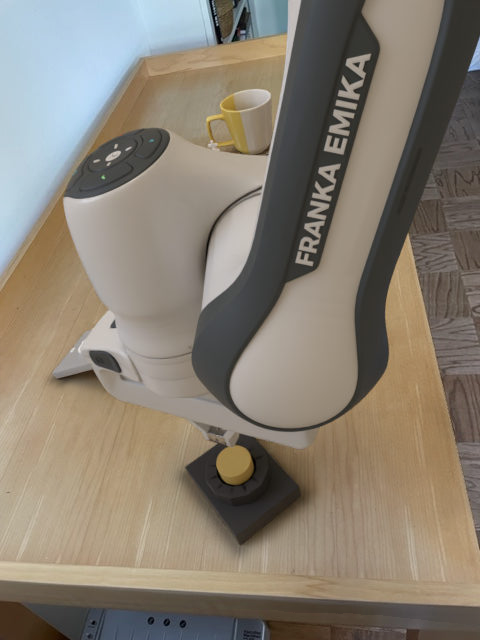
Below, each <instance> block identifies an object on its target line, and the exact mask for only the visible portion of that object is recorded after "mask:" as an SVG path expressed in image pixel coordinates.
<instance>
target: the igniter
mask: <svg viewBox="0 0 480 640" xmlns="http://www.w3.org/2000/svg"><path fill="white" fill-rule="evenodd" d="M235 445H238V446H242V447H244V448H246V449H247V450H248V451H249V453H250V455H251V458H252V461H253V464H254V471H253V474H252V476H251V477H250V478H249V480H247V481H246V482H245V483H243V484H240V485H230V484H228V483H226V482H225V481H224V480H223V479H222V478H221V476H220V473H219V471H218V469H217V466H216V461H217V457H218V455H219V454H220V452H221V451H222V450H224V449H225V448H227V447H229V446H226V445H222V444H219V443H215V445H214V446H212V447H211V448H209V449H208V450H206V451H205V452H204V453H203V454H200V456H198V457H197V458H195V459H194V460H193V461H191V462H190V463H188V464H187V465H185V467H184V469H185V471H186V472H187V475H188V477H189V478H190V480H191V481H192V482H193V484H194V485H195V486H196V488H197V489H198V491H199V492H200V493H201V495H202V496H203V498H205V500H206V501H207V503H208V504H209V506H210V507H211V508H212V510H213V511H214V512H215V514H216V515H217V517H219V519H220V521H221V522H222V523H223V525H224V526H225V528H226V529H227V530H228V531H229V533H230V534H231V535H232V537H233V538H234V540H235V541H236V542H237V544H238V545H239V546H242V544H244V543H246V541H248V540H249V539H250V538H251V537H253V536H254V535H255V534H256V533H258V532H259V531H260V530H261V529H263V528H264V527H265V526H266V525H268V524H269V523H270V522H272V521H273V520H274V519H275V518H277V516H279V515H280V514H281V513H283V512H284V511H285V510H286V509H288V508H289V507H290V506H292V504H293V503H295V502H296V501H297V500H299V499H300V498H301V497H302V494H301V489H300V485H298V483H297V482H296V480H294V479H293V478H292V477H291V476H290V475H289V473H288V472H287V471H286V470H285V469H284V468H283V467H282V466H281V465H280V464H279V462H278V461H276V460H275V458H274V457H273V456H272V455H271V454H270V453H269V452H268V451H267V449H265V447H264V446H263V445H262V444H261V443H260V441H258V439H257V438H255V437H251V436H248V435H244V434H240V433H239V437H238V440H237V442H236V444H235Z"/></svg>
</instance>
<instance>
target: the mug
mask: <svg viewBox="0 0 480 640" xmlns="http://www.w3.org/2000/svg"><path fill="white" fill-rule="evenodd" d="M272 103H273V102H272V93H271V92H270V91H268V90H266V89H263V88H251V89H244V90H240V91H237V92H234V93H232V94H230V95H228V96H227V97H225V98H224V99H222V101H220V104H219V108H220V111H221V113H219V114H213V115H209V116H207V117H206V120H205V124H206V131H207V134H208V138H209V141H211V140H213V142H214V143H217V144H218V146H215V148H225V147H235V149H236V150H237V151H239V152H240V153H241V154H245V155H259V154H261V153H263V152H266V150H267V149H268V148H269V147H270V145H271V140H272V135H273V117H272V116H273V114H272V113H273V111H272V109H273V105H272ZM219 120H220V121H223V122H225V124H226V128H227V130H228V132H229V134H230V137H231V139H230V140H226V141H219V142H218V141H216V140H215V138H214V136H213V132H212V127H211V122H214V121H219Z"/></svg>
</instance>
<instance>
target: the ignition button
mask: <svg viewBox="0 0 480 640" xmlns="http://www.w3.org/2000/svg"><path fill="white" fill-rule="evenodd" d="M216 466H217V469H218V471H219V473H220V476H221V478H222V479H223V480H224V481H225V482H226V483H228V484H230V485H240V484H243V483H245V482H246V481H247V480H249V478H250V477H251V476H252V474H253V471H254V464H253V461H252V458H251V455H250V453H249V451H248V450H247V449H246V448H244V447H242V446H238V445H235V446H234V447H227V448H225V449H224V450H222V451H221V452H220V454H219V455H218V457H217V461H216Z"/></svg>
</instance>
